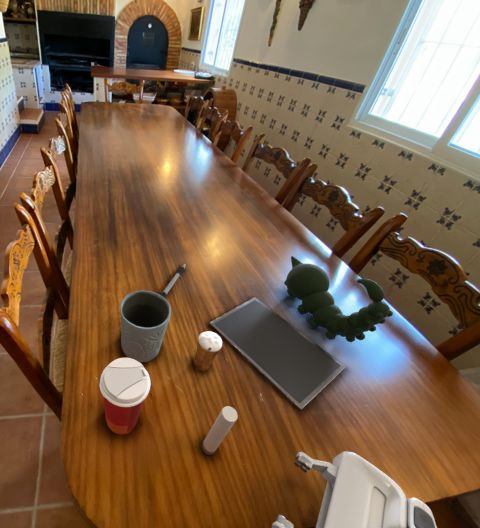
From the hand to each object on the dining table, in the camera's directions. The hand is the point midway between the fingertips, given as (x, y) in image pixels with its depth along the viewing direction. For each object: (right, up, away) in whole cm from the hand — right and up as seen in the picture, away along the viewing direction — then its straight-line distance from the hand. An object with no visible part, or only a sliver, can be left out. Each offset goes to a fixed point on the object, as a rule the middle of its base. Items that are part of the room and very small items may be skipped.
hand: (286, 486), depth 41 cm
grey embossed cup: (-19, +12, +25) cm, 34 cm away
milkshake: (-6, +9, +22) cm, 25 cm away
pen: (-9, +25, +42) cm, 50 cm away
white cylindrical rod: (-8, -1, +10) cm, 13 cm away
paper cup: (-23, +3, +13) cm, 26 cm away
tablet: (+11, +12, +27) cm, 32 cm away
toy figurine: (+25, +17, +36) cm, 47 cm away
